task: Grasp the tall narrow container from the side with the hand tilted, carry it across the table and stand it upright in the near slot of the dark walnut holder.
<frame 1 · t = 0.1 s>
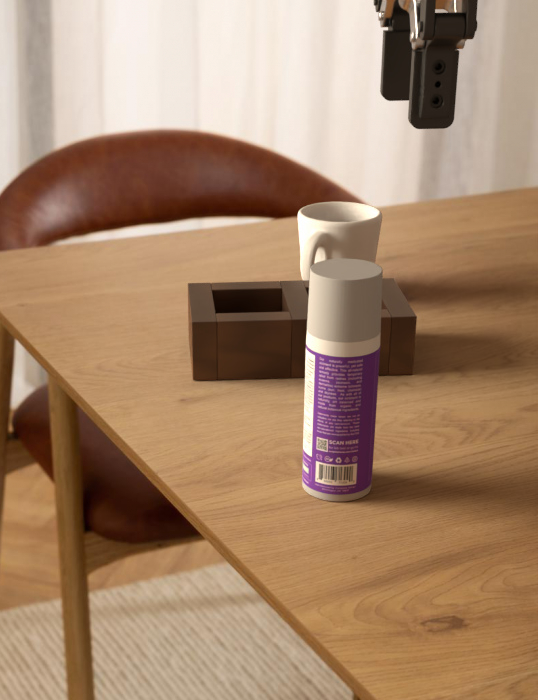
hand: (414, 112, 64), 25 cm above the table, tool pointing down, fingers open, 8 cm apart
holder: (296, 355, 101), on the table
container: (336, 488, 80), on the table
cup: (330, 299, 114), on the table
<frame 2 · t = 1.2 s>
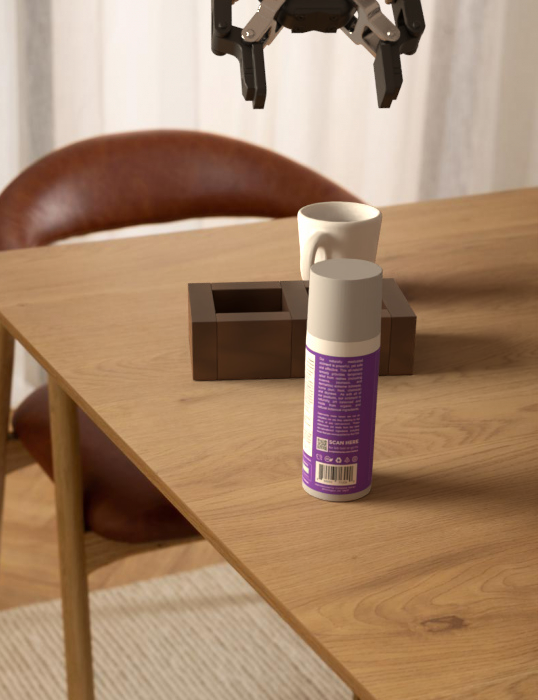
hand: (324, 102, 78), 23 cm above the table, tool tilted 45°, fingers open, 8 cm apart
nothing on the table moved.
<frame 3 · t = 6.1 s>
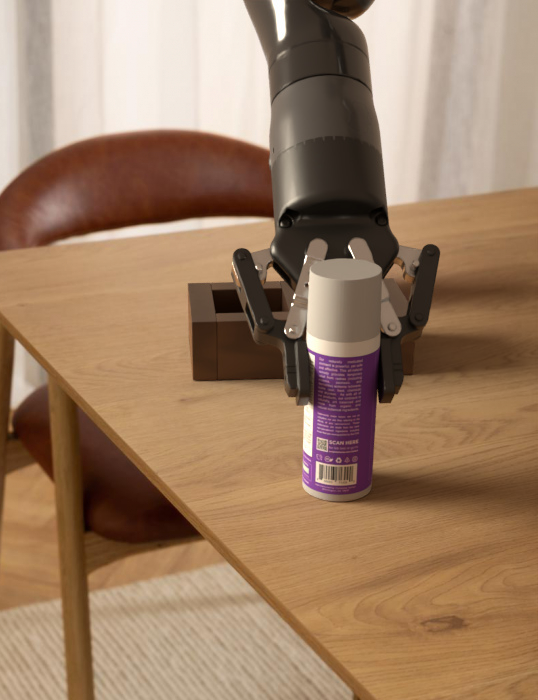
hand: (345, 399, 75), 7 cm above the table, tool tilted 45°, fingers closed on container, 4 cm apart
container: (336, 488, 80), on the table, touching gripper
everything else where it was.
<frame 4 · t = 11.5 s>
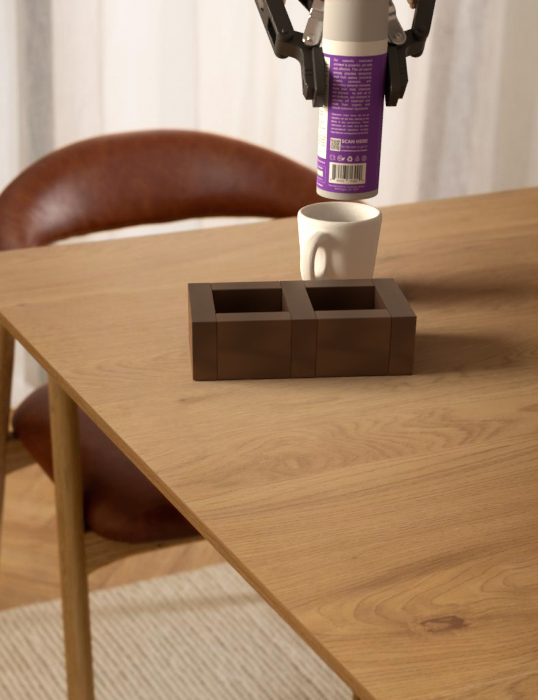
hand: (356, 99, 84), 22 cm above the table, tool tilted 45°, fingers closed on container, 4 cm apart
container: (347, 195, 90), point 15 cm above the table, touching gripper
everything else where it was.
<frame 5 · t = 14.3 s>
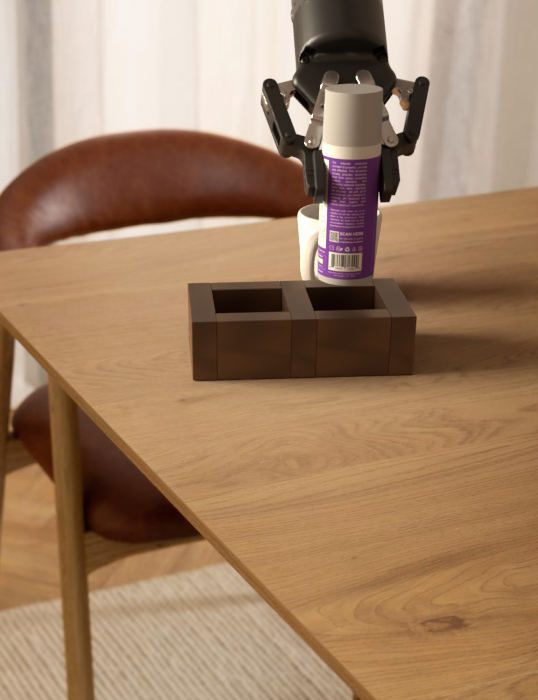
hand: (353, 197, 93), 14 cm above the table, tool tilted 45°, fingers closed on container, 4 cm apart
container: (345, 279, 98), point 7 cm above the table, touching gripper
everything else where it was.
when the fingers open (7 cm above the table, at t = 16.7 s): container stays where it is, resting in holder.
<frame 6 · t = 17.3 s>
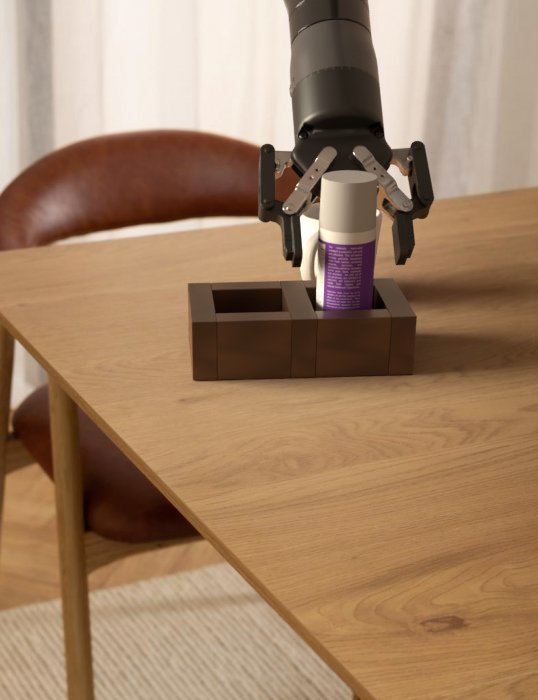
hand: (350, 261, 96), 8 cm above the table, tool tilted 45°, fingers open, 8 cm apart
container: (341, 355, 101), resting in holder
everything else where it was.
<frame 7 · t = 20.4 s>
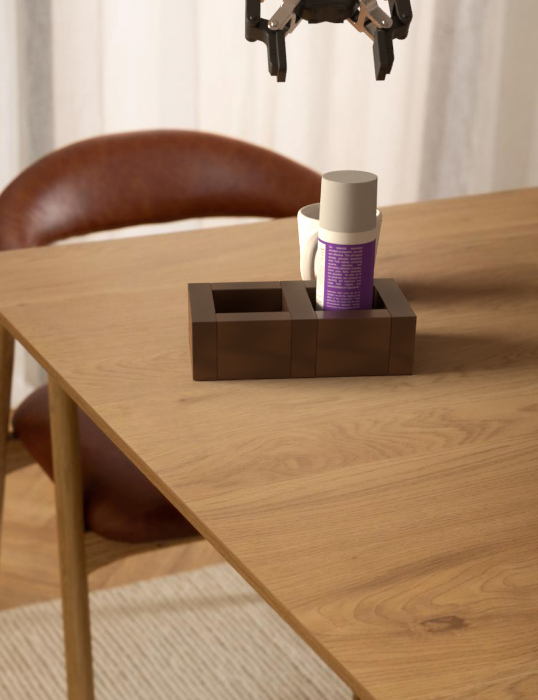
hand: (332, 75, 100), 21 cm above the table, tool tilted 45°, fingers open, 8 cm apart
nothing on the table moved.
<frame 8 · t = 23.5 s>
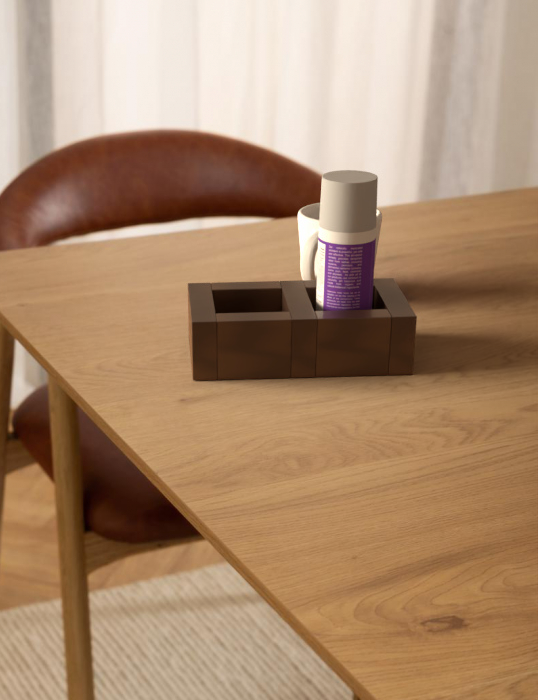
nothing on the table moved.
at the end: container 0.2 cm from the target spot in the holder, point 0.0 cm above the holder's base; container tilted 0°; the gripper is holding nothing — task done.
